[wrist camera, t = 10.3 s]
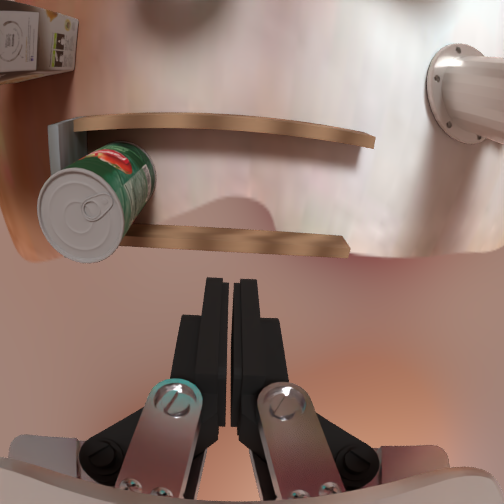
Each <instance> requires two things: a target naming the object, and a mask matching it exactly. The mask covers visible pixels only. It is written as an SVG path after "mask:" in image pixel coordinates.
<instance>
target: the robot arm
mask: <svg viewBox="0 0 504 504" xmlns="http://www.w3.org/2000/svg"><path fill="white" fill-rule="evenodd" d="M427 92H428V99H429V103H430V107H431V110H432V112H433V114H434V117H435V119H436V121H437V122H438V124H439V125H440V127H441V128H442V129H443V130H444V132H445V133H446V134H448V135H449V136H450V137H451V138H453V139H455V140H457V141H460V142H463V143H465V144H475V143H479V142H481V141H483V140H485V139H486V138H487V139H490V140H493V141H495V142H498V143H500V144H503V145H504V58H501V57H485V56H484V55H483V54H482V53H481V52H480V51H478V50H477V49H475V48H474V47H471V46H469V45H466V44H450V45H446V46H445V47H443V48H441V49H440V50H439V51H438V52H437V53H436V54H435V56H434V58H433V59H432V61H431V64H430V67H429V70H428V76H427ZM228 295H229V283H223V278H208V277H207V279H206V286H205V293H204V302H203V308H202V316H199V315H182V317H181V322H180V327H179V332H178V337H177V343H176V349H175V354H174V359H173V365H172V371H171V377H170V379H167V380H164V381H162V382H159V383H158V384H157V385H156V386H154V387H153V388H152V390H151V392H150V393H149V396H148V398H147V401H146V403H145V406H144V407H143V408H141V409H140V410H138V411H136V412H135V413H133V414H131V415H129V416H128V417H126V418H124V419H123V420H121V421H119V422H117V423H116V424H114V425H112V426H110V427H109V428H107V429H105V430H104V431H102V432H100V433H98V434H96V435H95V436H93V437H91V438H89V439H88V440H87V441H78V439H77V438H63V437H48V436H36V435H19V436H18V437H16V438H15V439H14V440H13V441H12V442H11V445H10V448H9V456H8V458H3V457H0V504H504V493H503V491H502V489H501V487H500V485H499V483H498V482H497V480H496V479H495V478H494V476H492V474H490V473H489V472H487V471H485V470H482V469H478V468H474V467H452V468H450V466H449V459H448V456H447V454H446V452H445V451H444V450H443V449H442V448H440V447H439V446H434V445H422V446H381V447H380V448H371V447H370V446H369V445H367V444H366V443H364V442H362V441H361V440H359V439H357V438H356V437H354V436H352V435H350V434H349V433H347V432H346V431H344V430H343V429H341V428H339V427H338V426H336V425H335V424H333V423H331V422H329V421H328V420H327V419H325V418H324V417H322V416H320V415H319V414H317V413H316V412H315V409H314V406H313V404H312V401H311V399H310V397H309V395H308V394H307V392H306V391H305V390H304V389H302V388H301V387H300V386H298V385H295V384H293V383H289V380H288V374H287V367H286V360H285V354H284V348H283V341H282V335H281V329H280V323H279V319H278V318H260V308H259V299H258V287H257V280H256V279H241V280H240V283H234V292H233V313H232V334H231V427H237V435H239V441H240V442H241V443H243V444H244V445H245V446H246V447H248V448H249V454H250V458H251V463H252V467H253V471H254V476H255V479H256V484H257V488H258V492H259V496H260V500H261V501H254V502H253V501H251V502H231V501H228V502H227V501H205V500H196V499H197V494H198V490H199V485H200V481H201V476H202V471H203V467H204V462H205V458H206V453H207V448H208V447H209V446H211V445H212V444H213V443H214V442H216V441H217V440H218V433H219V431H218V430H219V426H222V427H223V426H224V427H225V415H226V413H225V412H226V375H227V372H226V371H227V329H228Z"/></svg>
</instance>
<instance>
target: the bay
mask: <svg viewBox="0 0 504 504" xmlns="http://www.w3.org/2000/svg"><path fill="white" fill-rule="evenodd" d="M128 128H195V129H218V130H235V131H248V132H260V133H270V134H280V135H289V136H297V137H305V138H312V139H319V140H326V141H332V142H338V143H344V144H350V145H356V146H361V147H366V148H371V149H374V143H375V138H376V137H374V136H372V135H369V134H367V133H364V132H360V131H355V130H349V129H344V128H339V127H333V126H327V125H321V124H314V123H307V122H300V121H293V120H285V119H276V118H267V117H256V116H244V115H230V114H212V113H126V114H108V115H95V116H84V117H76V118H72V119H69V120H65V121H62V122H58V123H55V124H52V125H48V143H49V158H50V169H51V176H52V175H53V174H55V173H56V172H58V171H60V170H62V169H64V168H65V167H67V166H69V165H70V164H72V163H74V162H76V161H77V160H79V159H81V158H83V157H84V156H86V155H88V154H87V131H90V130H106V129H128ZM119 246H132V247H151V248H169V249H188V250H206V251H224V252H242V253H243V252H244V253H260V254H279V255H298V256H316V257H336V258H348V256H349V252H350V247H349V246H348V244H347V243H346V241H345V240H344V238H343V236H336V235H322V234H309V233H294V232H279V231H264V230H248V229H247V230H246V229H231V228H213V227H194V226H174V225H152V224H132V225H131V226H130V228H129V229H128V231H127V233H126V234H125V236H124V237H123V239H122V240H121V242H120V244H119ZM64 257H65V256H64Z"/></svg>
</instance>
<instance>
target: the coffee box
mask: <svg viewBox="0 0 504 504" xmlns="http://www.w3.org/2000/svg"><path fill="white" fill-rule="evenodd" d="M77 30H78V19H75V18H72V17H69V16H66V15H63V14H60V13H57V12H53V11H50V10H46V9H43V8H39V7H35V6H31V5H27V4H22V3H18V2H14V1H8V0H0V85H2V84H10V83H18V82H22V81H26V80H30V79H35V78H39V77H44V76H48V75H53V74H58V73H64V72H69V71H73V70H74V67H75V52H76V41H77Z"/></svg>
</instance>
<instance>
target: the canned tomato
mask: <svg viewBox="0 0 504 504" xmlns="http://www.w3.org/2000/svg"><path fill="white" fill-rule="evenodd" d="M155 183H156V171H155V168H154V164H153V162H152V160H151V158H150V157H149V155H148V154H147V153H146V152H145V151H144V150H143V149H142V148H141V147H139V146H137V145H136V144H133V143H131V142H126V141H115V142H111V143H108V144H106V145H105V146H103V147H101V148H99V149H97V150H95V151H94V152H92V153H90V154H88V155H86V156H84V157H83V158H81V159H79V160H77V161H76V162H74V163H72V164H70V165H69V166H67V167H65V168H64V169H62V170H60V171H58V172H56V173H55V174H53V175H52V176H51V177H50V178H49V179H48V180H47V181H46V182H45V183H44V185H43V187H42V189H41V191H40V194H39V197H38V203H37V214H38V220H39V224H40V227H41V229H42V232H43V234H44V235H45V237H46V239H47V240H48V242H49V243H50V244H51V245H52V246H53V248H54V249H56V250H57V251H58V252H59V253H60V254H62V255H63V256H65V257H66V258H68V259H71V260H73V261H76V262H81V263H95V262H100V261H102V260H104V259H106V258H107V257H109V256H110V255H111V254H113V253H114V251H115V250H116V249H117V248H118V246H119V244H120V242H121V240H122V239H123V237H124V236H125V234H126V233H127V231H128V229H129V228H130V226H131V225H132V223H133V222H134V220H135V219H136V217H137V216H138V214H139V213H140V211H141V210H142V208H143V207H144V205H145V204H146V202H147V201H148V200H149V199H150V197H151V195H152V194H153V191H154V188H155Z"/></svg>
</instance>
